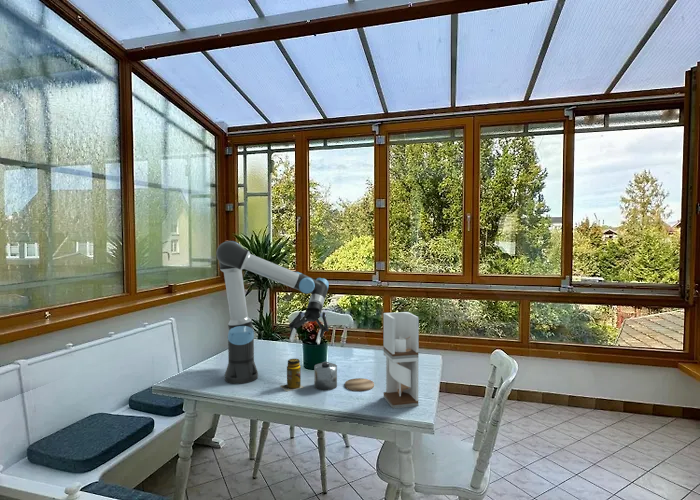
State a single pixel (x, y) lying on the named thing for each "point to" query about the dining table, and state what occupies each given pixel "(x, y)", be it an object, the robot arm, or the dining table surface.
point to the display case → (401, 359)
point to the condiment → (293, 375)
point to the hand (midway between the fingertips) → (304, 342)
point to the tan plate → (359, 384)
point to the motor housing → (325, 376)
